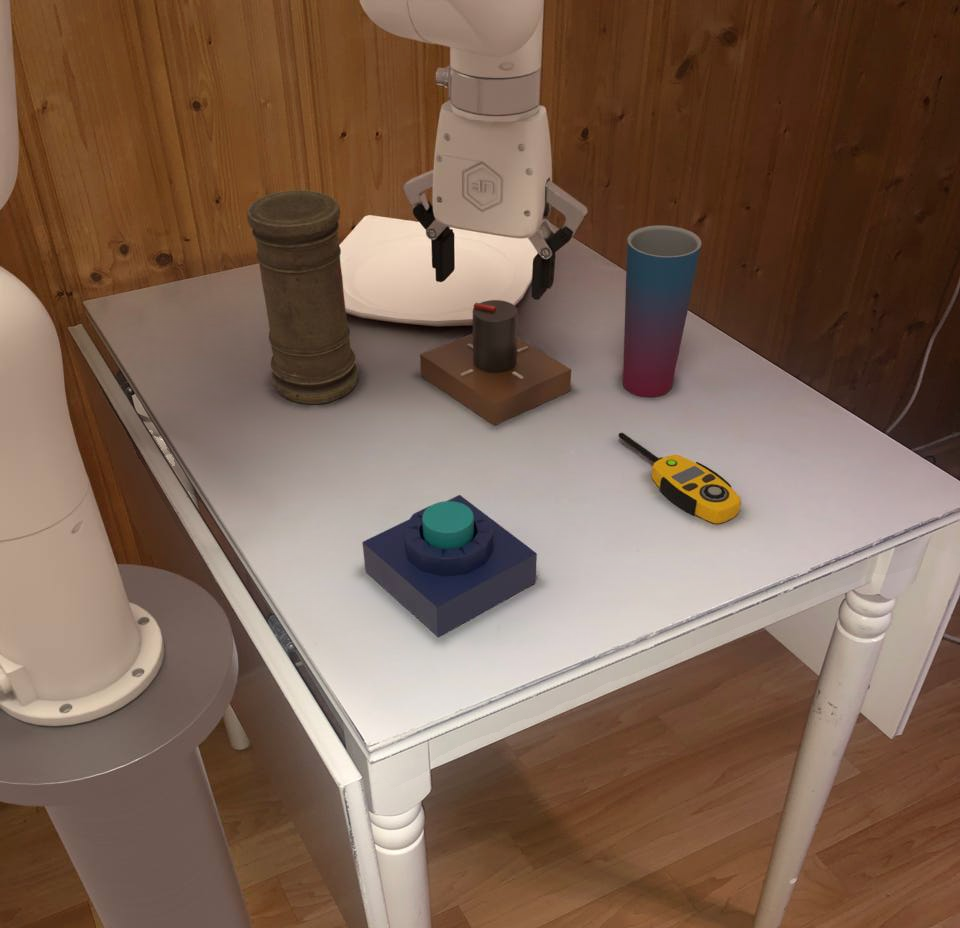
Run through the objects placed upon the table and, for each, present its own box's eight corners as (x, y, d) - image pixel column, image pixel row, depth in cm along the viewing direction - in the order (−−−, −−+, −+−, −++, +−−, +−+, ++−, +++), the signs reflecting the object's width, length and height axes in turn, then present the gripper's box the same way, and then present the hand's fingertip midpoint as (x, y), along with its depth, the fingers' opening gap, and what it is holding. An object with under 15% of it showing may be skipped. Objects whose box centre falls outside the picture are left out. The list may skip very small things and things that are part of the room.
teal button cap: (443, 556, 81) (443, 539, 80) (413, 531, 83) (412, 514, 82) (484, 536, 83) (483, 518, 82) (452, 512, 85) (452, 494, 84)
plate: (293, 322, 117) (290, 299, 115) (362, 231, 134) (360, 210, 132) (507, 347, 113) (508, 324, 111) (550, 249, 130) (551, 228, 128)
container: (323, 414, 104) (301, 235, 91) (253, 389, 107) (222, 213, 95) (377, 373, 109) (362, 199, 97) (308, 351, 113) (286, 180, 100)
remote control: (712, 513, 89) (600, 431, 98) (709, 531, 91) (598, 449, 99) (753, 494, 91) (639, 415, 100) (749, 511, 92) (637, 432, 101)
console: (494, 425, 102) (494, 402, 100) (420, 376, 109) (419, 352, 107) (570, 391, 107) (571, 367, 105) (495, 345, 113) (495, 322, 111)
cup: (667, 363, 110) (686, 222, 100) (690, 397, 106) (712, 252, 95) (605, 371, 109) (617, 229, 99) (625, 405, 105) (640, 260, 94)
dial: (523, 355, 107) (524, 301, 103) (507, 376, 104) (508, 321, 100) (483, 347, 108) (482, 293, 104) (466, 367, 105) (465, 313, 101)
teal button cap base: (438, 637, 81) (436, 589, 78) (365, 571, 87) (360, 524, 83) (535, 583, 86) (537, 535, 82) (460, 524, 91) (459, 477, 88)
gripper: (382, 90, 88) (392, 286, 100) (580, 116, 83) (566, 318, 95) (418, 65, 93) (424, 254, 105) (607, 89, 88) (590, 284, 100)
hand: (492, 284), depth 100 cm, fingers open, 9 cm apart
